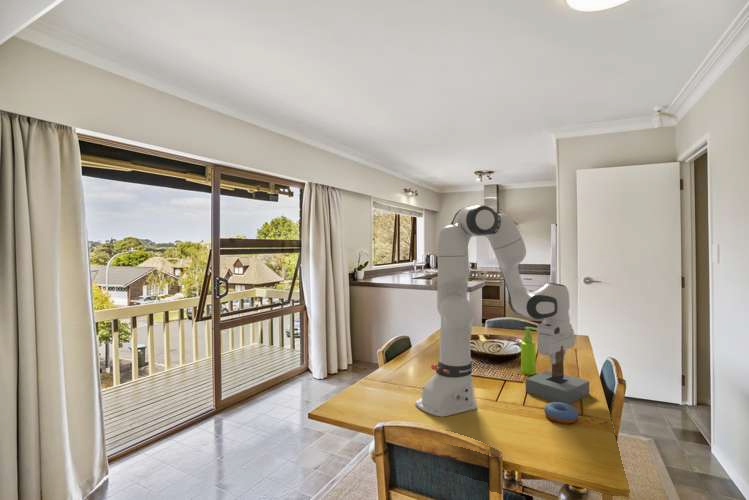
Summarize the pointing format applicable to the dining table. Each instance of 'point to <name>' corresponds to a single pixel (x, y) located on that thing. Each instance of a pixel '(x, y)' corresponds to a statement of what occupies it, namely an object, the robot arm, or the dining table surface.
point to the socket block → (557, 387)
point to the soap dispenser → (528, 353)
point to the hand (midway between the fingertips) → (557, 362)
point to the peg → (558, 365)
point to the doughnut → (561, 412)
